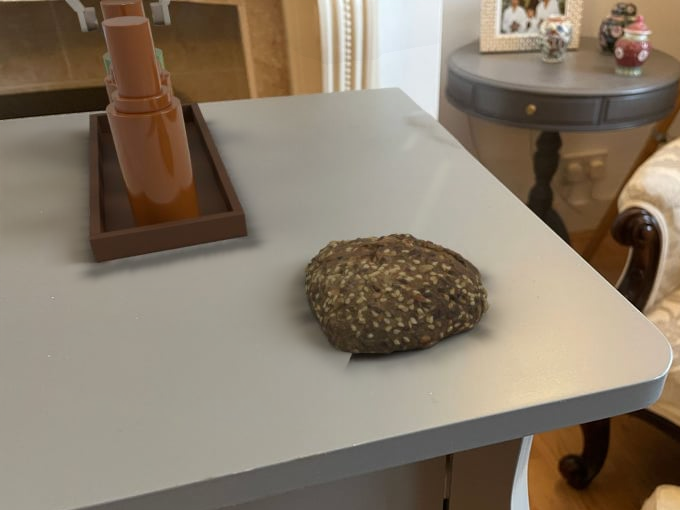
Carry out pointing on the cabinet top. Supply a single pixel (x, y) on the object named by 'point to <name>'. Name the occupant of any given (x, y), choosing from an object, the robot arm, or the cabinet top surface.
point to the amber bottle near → (148, 128)
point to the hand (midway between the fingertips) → (127, 27)
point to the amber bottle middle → (120, 4)
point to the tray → (127, 241)
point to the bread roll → (393, 293)
